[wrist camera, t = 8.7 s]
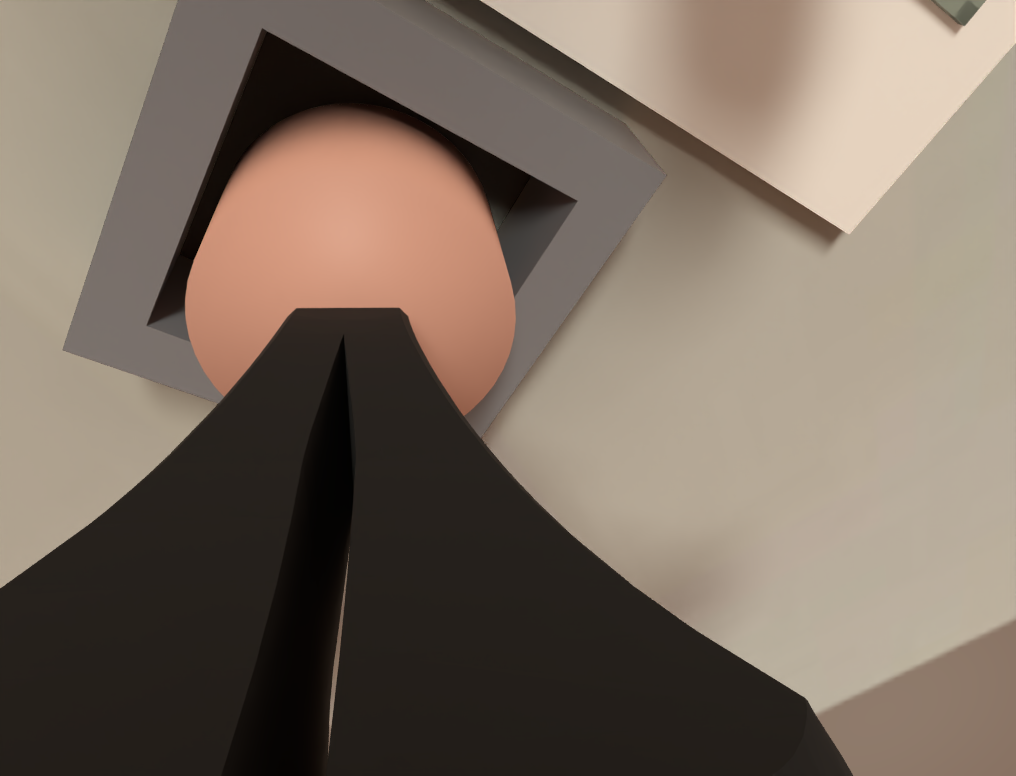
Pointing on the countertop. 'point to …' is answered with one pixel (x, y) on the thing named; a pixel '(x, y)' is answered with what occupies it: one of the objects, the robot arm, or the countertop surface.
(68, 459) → the countertop surface
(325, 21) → the button housing
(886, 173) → the board
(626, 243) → the countertop surface
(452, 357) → the button
